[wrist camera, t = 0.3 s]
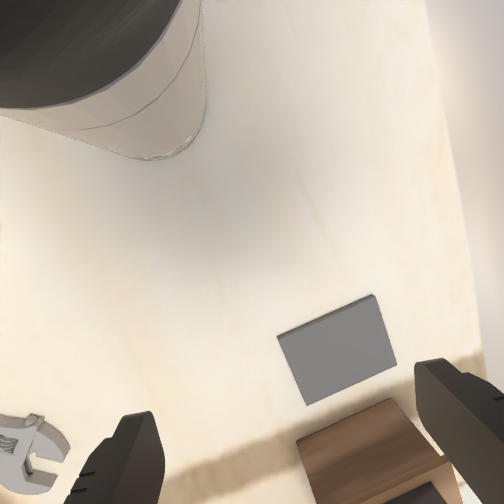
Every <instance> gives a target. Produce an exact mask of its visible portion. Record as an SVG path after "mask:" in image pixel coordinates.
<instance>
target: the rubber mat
mask: <svg viewBox="0 0 504 504" xmlns="http://www.w3.org/2000/svg"><path fill="white" fill-rule="evenodd" d="M277 338H278V341H279V343H280V345H281V347H282V350H283V352H284V354H285V357H286V359H287V361H288V364H289V366H290V368H291V371H292V373H293V375H294V378H295V380H296V382H297V385H298V387H299V389H300V392H301V394H302V396H303V399H304V401H305V403H306V405H307V406H308V405H311V404H313V403H315V402H317V401H319V400H322V399H324V398H326V397H328V396H330V395H332V394H335V393H337V392H339V391H341V390H343V389H346V388H348V387H350V386H352V385H354V384H357V383H359V382H361V381H363V380H365V379H368V378H370V377H372V376H374V375H376V374H379V373H381V372H383V371H385V370H387V369H390V368H392V367H394V366H396V365H397V362H396V359H395V356H394V353H393V349H392V346H391V343H390V340H389V337H388V334H387V331H386V328H385V325H384V321H383V318H382V315H381V312H380V309H379V306H378V303H377V300H376V297H375V296H374V295H370V296H368V297H366V298H363V299H361V300H359V301H357V302H354V303H352V304H350V305H348V306H345V307H343V308H341V309H339V310H336V311H334V312H332V313H330V314H327V315H325V316H323V317H321V318H318V319H316V320H314V321H312V322H309V323H307V324H305V325H303V326H300V327H298V328H296V329H294V330H291V331H289V332H287V333H285V334H282V335H280V336H278V337H277Z"/></svg>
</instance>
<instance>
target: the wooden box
mask: <svg viewBox="0 0 504 504" xmlns="http://www.w3.org/2000/svg"><path fill="white" fill-rule="evenodd" d="M296 443H297V446H298V449H299V452H300V455H301V458H302V461H303V464H304V467H305V470H306V473H307V476H308V479H309V482H310V485H311V488H312V491H313V494H314V497H315V500H316V503H317V504H463V502H462V498H461V495H460V491H459V488H458V485H457V481H456V478H455V475H454V471H453V468H452V464H451V462H450V460H449V459H448V458H447V457H446V455H443V456H440V455H439V454H438V453H437V452H436V450H435V449H434V448H433V447H432V446H431V445H430V443H429V442H428V441H427V440H426V439H425V437H424V436H423V435H422V434H421V433H420V431H419V430H418V429H417V428H416V427H415V426H414V424H413V423H412V422H411V421H410V420H409V418H408V417H407V416H406V415H405V414H404V413H403V411H402V410H401V409H400V408H399V407H398V405H397V404H396V403H395V402H394V401H393V400H392V398H390V399H388V400H385V401H383V402H381V403H379V404H377V405H374V406H372V407H370V408H368V409H366V410H364V411H361V412H359V413H357V414H355V415H353V416H351V417H348V418H346V419H344V420H342V421H340V422H337V423H335V424H333V425H331V426H329V427H327V428H324V429H322V430H320V431H318V432H316V433H314V434H311V435H309V436H307V437H305V438H303V439H301V440H298V441H296Z"/></svg>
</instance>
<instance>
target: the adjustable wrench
mask: <svg viewBox="0 0 504 504" xmlns="http://www.w3.org/2000/svg"><path fill="white" fill-rule="evenodd" d="M44 418H45V417H42V416H40V417H37V416H35V415H30V416H29V417H27V419H22V418H11V417H7V416H3V415H1V414H0V484H1V485H2V486H3V487H5V488H6V489H8V490H10V491H12V492H15V493H18V494H24V495H37V494H41V493H45V492H48V491H49V490H50V489H51V488H52V486H53V484H54V482H55V480H56V478H57V476H58V475H54V474H50V473H46V472H42V471H37V470H33V469H32V465H31V462H30V459H29V455H30V454H31V453H33V452H36V457H40V458H44V459H48V460H52V461H56V462H60V463H63V461H64V459H65V457H66V455H67V454H68V452H69V450H70V446H69V444H68V442H67V440H66V438H65V437H64V436H63V434H62V433H61V432H60V431H58V430H57V429H56V428H54V427H53V426H51V425H50V424H48V423H46V422H44Z"/></svg>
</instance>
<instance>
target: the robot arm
mask: <svg viewBox="0 0 504 504" xmlns="http://www.w3.org/2000/svg"><path fill="white" fill-rule="evenodd" d="M205 110H206V77H205V53H204V30H203V6H202V0H0V115H2V116H5V117H8V118H11V119H14V120H17V121H21V122H24V123H27V124H30V125H33V126H36V127H39V128H43V129H46V130H49V131H52V132H55V133H58V134H61V135H64V136H67V137H70V138H73V139H76V140H79V141H82V142H85V143H88V144H91V145H94V146H97V147H100V148H103V149H106V150H109V151H112V152H115V153H118V154H122V155H125V156H128V157H131V158H134V159H140V160H160V159H164V158H167V157H171V156H173V155H175V154H176V153H178V152H180V151H182V150H183V149H184V148H185V147H186V146H188V145H189V144H190V143H191V142H192V140H193V139H194V138H195V136H196V135H197V133H198V132H199V130H200V127H201V125H202V123H203V120H204V115H205ZM414 375H415V392H416V407H417V411H418V415H419V417H420V420H421V422H422V424H423V426H424V427H425V429H426V430H427V432H428V433H429V434H430V436H431V437H432V438H433V440H434V441H435V442H436V444H437V445H438V446H439V447H440V449H441V450H442V451H443V453H444V454H445V455H446V457H447V458H448V459H449V460H450V462H451V463H452V464H453V466H454V467H455V468H456V470H457V471H458V472H459V474H460V475H461V476H462V477H463V479H464V480H465V481H466V483H467V484H468V485H469V487H470V488H471V489H472V490H473V492H474V493H475V494H476V496H477V497H478V498H479V500H480V501H481V502H482V504H504V394H503V393H502V392H501V391H499V390H498V389H497V388H496V387H494V386H493V385H492V384H491V383H489V382H487V381H485V380H483V379H481V378H479V377H477V376H475V375H473V374H470V373H468V372H467V373H461V372H460V371H459V370H458V369H456V368H455V367H454V366H453V365H452V364H451V363H449V362H448V361H447V360H446V359H444V358H438V359H433V360H427V361H422V362H417V363H416V364H415V366H414ZM164 473H165V456H164V451H163V447H162V444H161V441H160V437H159V434H158V430H157V427H156V423H155V420H154V417H153V414H152V413H151V412H150V411H146V412H141V413H135V414H130V415H125V416H123V417H122V418H121V420H120V422H119V424H118V426H117V428H116V430H115V432H114V434H113V437H111V438H105V439H104V440H103V441H102V442H101V443H100V445H99V446H98V447H97V448H96V449H95V450H94V451H93V452H92V453H91V454H90V455H89V457H88V459H87V461H86V463H85V465H84V466H83V468H82V470H81V472H80V474H79V478H77V479H76V481H75V483H74V485H73V487H72V489H71V493H70V495H68V496H67V498H66V500H65V502H64V504H157V503H158V499H159V495H160V491H161V487H162V483H163V479H164Z"/></svg>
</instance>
